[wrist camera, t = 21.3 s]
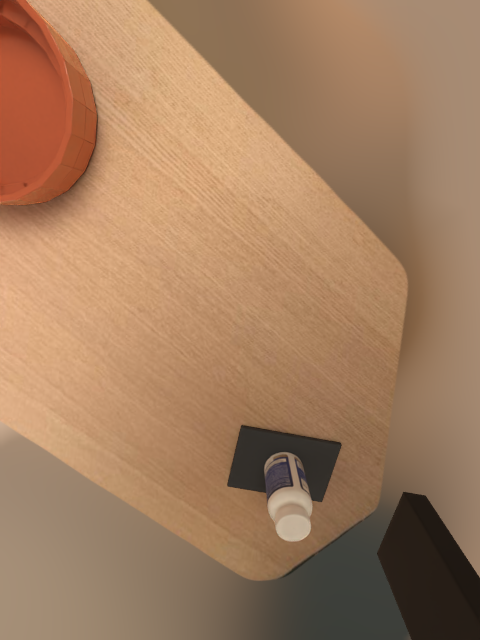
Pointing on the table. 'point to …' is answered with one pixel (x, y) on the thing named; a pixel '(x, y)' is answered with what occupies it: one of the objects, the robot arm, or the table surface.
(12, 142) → the bowl
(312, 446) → the mat
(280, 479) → the pill bottle
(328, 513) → the table surface
